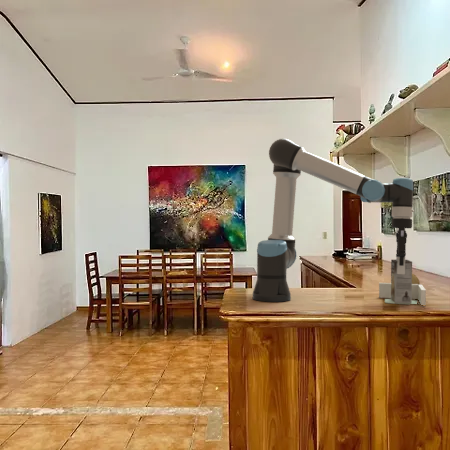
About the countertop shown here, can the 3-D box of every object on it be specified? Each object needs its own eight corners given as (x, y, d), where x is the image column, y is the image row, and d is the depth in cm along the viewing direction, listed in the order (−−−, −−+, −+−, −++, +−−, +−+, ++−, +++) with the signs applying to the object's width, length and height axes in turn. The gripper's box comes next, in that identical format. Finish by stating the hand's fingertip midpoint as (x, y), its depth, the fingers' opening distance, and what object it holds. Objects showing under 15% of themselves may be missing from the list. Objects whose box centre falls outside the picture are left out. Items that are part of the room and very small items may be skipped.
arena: (378, 303, 184) (378, 288, 184) (378, 297, 201) (379, 282, 201) (425, 306, 178) (425, 290, 178) (421, 299, 196) (421, 284, 196)
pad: (385, 303, 185) (385, 302, 185) (384, 299, 194) (384, 298, 194) (418, 304, 182) (418, 304, 182) (416, 301, 190) (416, 300, 190)
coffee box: (390, 299, 192) (390, 259, 192) (406, 299, 192) (407, 259, 192) (395, 303, 183) (395, 260, 183) (412, 303, 183) (413, 261, 182)
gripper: (414, 217, 175) (412, 276, 175) (410, 218, 198) (408, 270, 199) (392, 217, 177) (390, 275, 177) (391, 218, 201) (389, 269, 201)
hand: (400, 272), depth 188 cm, fingers open, 13 cm apart
